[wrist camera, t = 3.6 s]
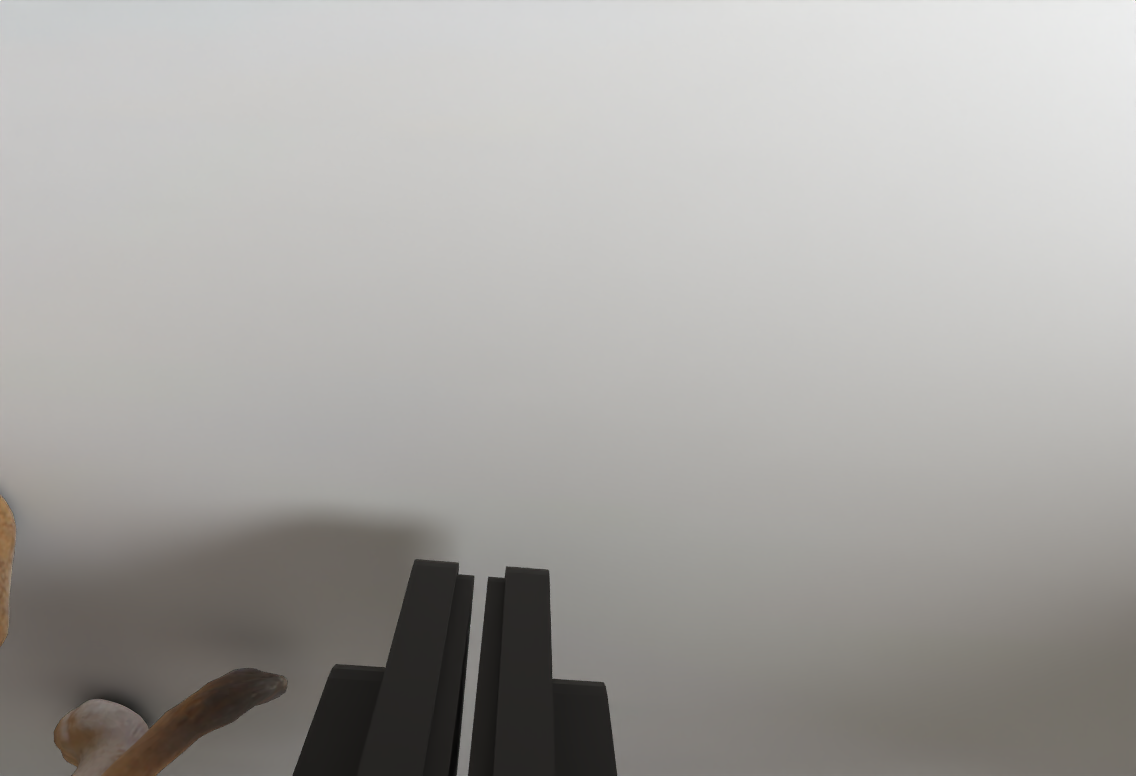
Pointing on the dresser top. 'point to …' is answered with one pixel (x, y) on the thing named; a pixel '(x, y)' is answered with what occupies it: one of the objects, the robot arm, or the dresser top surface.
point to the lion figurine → (119, 735)
